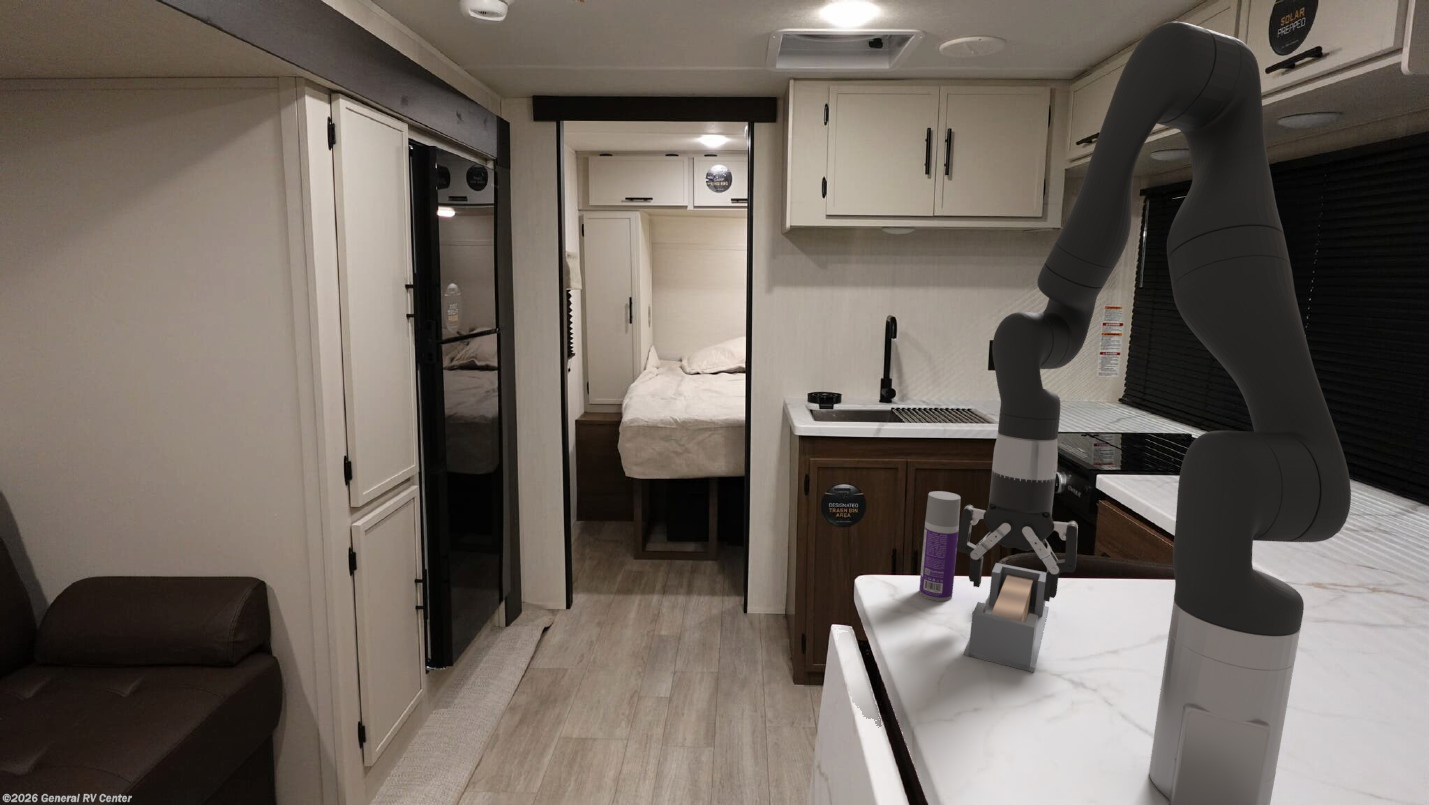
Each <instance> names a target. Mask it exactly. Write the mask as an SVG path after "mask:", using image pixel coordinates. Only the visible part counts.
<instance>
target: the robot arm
mask: <svg viewBox="0 0 1429 805" xmlns="http://www.w3.org/2000/svg"><path fill="white" fill-rule="evenodd" d="M1263 110H1264V109H1263V97H1262V84H1261V74H1260V68H1259V63H1258V60H1257V57H1256V56H1255V53H1254V52H1253V49H1252V48H1251V47H1250V46H1249V45H1248V44H1246V43H1245V42H1243V41H1242V40H1241V39H1239V38H1237V37H1234V36H1231V35H1227V34H1224V33H1221V32H1218V31H1215V30H1211V29H1207V28H1205V27H1202V26H1198V25H1195V24H1191V23H1187V22H1184V21H1169V22H1166V23H1162V24H1161V25H1158V26H1156V27H1155V28H1153V29H1152V30H1151V31H1149V32H1148V33H1147V34H1146V35H1145V36H1144V37H1143V38H1142V39H1141V40H1140V41H1139V43H1138V44H1137V45H1136V47H1135V48H1134V49H1133V51H1132V52H1131V54H1130V56H1129V58H1128V60H1127V61H1126V64H1125V65H1124V68H1123V69H1122V72H1121V74H1120V77H1119V79H1118V81H1117V84H1116V85H1115V89H1114V92H1113V94H1112V97H1111V100H1110V103H1109V106H1108V108H1107V111H1106V114H1105V118H1104V119H1103V123H1102V125H1101V128H1100V131H1099V134H1098V136H1097V139H1096V142H1095V145H1094V148H1093V152H1092V155H1091V157H1090V160H1089V162H1088V164H1087V165H1088V166H1087V169H1086V172H1085V175H1084V178H1083V181H1082V183H1081V186H1080V190H1079V192H1078V195H1077V197H1076V200H1075V202H1074V204H1073V207H1072V209H1071V210H1070V214H1069V216H1068V217H1067V219H1066V222H1065V224H1064V225H1063V228H1062V229H1061V231H1060V233H1059V235H1058V238H1057V239H1056V241H1055V243H1054V244H1053V246H1052V248H1051V251H1050V253H1049V254H1048V256H1047V258H1046V260H1045V262H1044V264H1043V265H1042V268H1041V270H1040V272H1039V273H1038V274H1039V275H1038V276H1037V286H1038V289H1039V291H1040V293H1042V294H1043V295H1044V296H1045V297H1047V298H1048V301H1047V304H1046V306H1045V309H1044V310H1043V312H1034V311H1033V312H1032V311H1031V312H1030V311H1017V312H1012V313H1011V314H1008V315H1007V316H1005V317H1004V318H1003V319H1002V320H1001V321H1000V322H999V325H998V326H997V327H996V330H995V332H994V336H993V339H992V346H991V347H992V360H993V365H994V371H995V377H996V382H997V389H998V394H999V397H1000V408H999V417H998V426H997V427H998V428H997V435H996V441H995V444H994V448H993V457H992V468H991V478H990V488H989V500H988V507H987V509H986V510H985V509H980V508H975V507H974V505H971V504H966V505H965V506H964V508H963V509H962V512H961V516H960V517H961V518H960V522H959V530H958V541H957V552H959V553H964V554H966V555H967V556H968V557H969V570H968V571H969V572H968V578H969V582H972V583H973V584H972V585H973V587H974V588H975V587H976V588H980V586H981V583H982V577H983V576H982V575H983V565H984V564H983V563H984V554H985V553H986V552H988V551H990V550H991V549H992V548H993V547H994V546H995V545H996V544H997V543H998V544H999V545H1001V546H1002V548H1007V549H1014V548H1016V549H1018V550H1021V551H1024V552H1029V551H1031V550H1032V551H1033V550H1034V552H1035V553H1036V556H1037V557H1038V558H1039V559H1040V561H1042V562H1043V564H1044V565H1045V567H1046V581H1045V590H1044V599H1043V601H1045V602H1048V603H1049V602H1050V601H1051V600H1050V599H1051V598H1052V599H1055V597H1056V596H1057V593H1058V583H1059V576H1060V574H1062V573H1074V572H1075V571H1076V569H1077V555H1078V554H1077V553H1078V552H1077V550H1078V533H1079V532H1078V530H1079V529H1078V528H1079V527H1078V526H1079V525H1078V523H1077V521H1075V520H1070V521H1068V522H1066V521H1064V522H1063V521H1055V520H1054V518H1053V505H1054V497H1055V496H1054V495H1055V487H1056V486H1055V484H1056V478H1057V477H1056V476H1057V472H1058V458H1059V456H1058V455H1059V454H1058V436H1059V435H1058V434H1059V428H1060V427H1059V426H1060V419H1061V418H1060V417H1061V399H1060V397H1059V395H1058V394H1057V393H1056V392H1054V391H1052V390H1050V389H1046V388H1044V386H1043V381H1042V376H1041V370H1056V369H1059V368H1062V367H1064V366H1066V365H1068V364H1069V363H1070V362H1072V361H1073V360H1074V359H1075V358H1076V356H1078V354H1079V352H1080V351H1081V350H1082V348H1083V347H1084V344H1085V341H1086V339H1087V336H1088V332H1089V330H1090V326H1091V322H1092V319H1093V316H1094V312H1095V308H1096V303H1097V302H1096V301H1097V298H1098V296H1099V295H1100V293H1101V291H1102V289H1104V286H1105V285H1106V283H1107V281H1108V280H1109V278H1110V276H1111V275H1112V273H1113V271H1114V269H1115V268H1116V265H1117V264H1118V262H1119V261H1120V259H1121V257H1122V255H1123V253H1124V251H1125V248H1126V245H1127V243H1128V241H1129V240H1128V239H1129V237H1130V233H1131V232H1130V231H1131V227H1132V210H1133V208H1132V206H1133V182H1134V176H1135V171H1136V166H1137V163H1138V158H1139V156H1140V154H1141V151H1142V150H1143V147H1144V145H1145V143H1146V141H1147V139H1148V138H1149V136H1150V135H1151V133H1152V131H1153V130H1154V128H1155V127H1156V126H1157V125H1161V126H1165V127H1169V128H1172V129H1176V130H1179V131H1180V132H1181V133H1182V135H1183V136H1184V138H1185V141H1186V145H1187V146H1188V151H1189V155H1190V160H1191V161H1190V162H1191V167H1192V180H1191V181H1192V182H1191V185H1190V188H1189V191H1188V192H1187V195H1186V196H1185V198H1184V200H1183V202H1182V203H1181V205H1180V207H1179V209H1178V211H1177V212H1176V214H1175V217H1174V219H1173V221H1172V223H1171V226H1170V229H1169V232H1168V236H1167V239H1166V240H1167V241H1166V256H1167V262H1168V264H1167V265H1168V270H1169V277H1170V281H1171V288H1172V295H1173V299H1174V304H1175V306H1176V308H1177V310H1178V312H1179V314H1180V316H1181V318H1182V319H1183V321H1184V323H1185V324H1186V326H1187V327H1188V328H1189V329H1190V330H1191V332H1192V333H1193V335H1195V337H1197V339H1198V340H1199V341H1200V342H1201V343H1202V344H1203V346H1204V347H1205V348H1206V349H1207V350H1208V351H1209V353H1211V355H1212V356H1213V357H1214V358H1215V359H1216V360H1217V362H1219V364H1221V366H1222V367H1223V368H1224V369H1225V371H1226V372H1227V373H1228V374H1229V375H1230V377H1231V378H1232V380H1233V381H1234V382H1235V384H1236V385H1237V387H1238V389H1239V391H1240V393H1241V394H1242V397H1243V399H1244V401H1245V404H1246V406H1247V409H1248V413H1249V415H1250V416H1249V417H1250V420H1251V423H1252V427H1253V431H1249V430H1248V431H1247V430H1246V431H1245V430H1244V431H1243V430H1213V431H1212V430H1211V431H1208V432H1205V433H1203V434H1201V435H1199V436H1198V437H1196V438H1195V439H1194V440H1193V441H1192V442H1191V444H1190V446H1188V448H1187V451H1186V452H1185V454H1184V457H1183V460H1182V464H1181V467H1180V472H1179V476H1178V477H1179V478H1178V479H1179V480H1178V485H1177V486H1178V487H1177V498H1176V514H1175V525H1174V537H1173V538H1174V539H1173V545H1172V546H1173V548H1172V565H1173V573H1174V582H1175V585H1174V592H1173V593H1174V594H1173V603H1172V608H1171V609H1172V610H1171V618H1170V625H1169V630H1168V637H1167V642H1166V643H1167V645H1166V650H1165V658H1164V662H1163V663H1164V665H1163V670H1162V671H1163V672H1162V676H1161V677H1162V679H1161V685H1160V692H1159V699H1158V706H1157V712H1156V720H1155V726H1154V727H1155V728H1154V733H1153V742H1152V748H1151V754H1150V763H1149V769H1148V772H1149V777H1150V779H1151V782H1152V783H1153V784H1154V786H1155V788H1156V789H1158V791H1159V792H1161V793H1162V794H1163V795H1164V796H1165V797H1166V798H1167V799H1168V801H1169V805H1271V803H1272V798H1273V797H1272V796H1273V791H1274V790H1273V789H1274V785H1275V780H1276V773H1277V767H1278V762H1279V755H1280V749H1281V743H1282V737H1283V731H1284V726H1285V720H1286V714H1287V709H1288V701H1289V696H1290V690H1291V685H1292V679H1293V678H1292V677H1293V673H1294V668H1295V662H1296V658H1297V652H1298V651H1297V650H1298V646H1299V641H1300V640H1299V639H1300V634H1301V627H1302V622H1303V618H1304V617H1303V615H1304V607H1305V603H1304V600H1303V597H1302V595H1301V593H1299V591H1298V590H1297V589H1295V588H1294V587H1292V586H1291V585H1290V584H1289V583H1287V582H1285V581H1283V580H1281V579H1280V578H1279V579H1278V578H1276V577H1274V576H1272V575H1270V574H1267V573H1264V572H1262V571H1259V570H1257V569H1255V568H1253V544H1254V541H1256V542H1277V543H1278V542H1279V543H1281V542H1284V543H1317V542H1324V541H1327V540H1329V539H1332V538H1333V537H1334V536H1335V535H1337V534H1338V533H1339V532H1340V531H1341V530H1342V528H1343V527H1344V525H1345V524H1346V523H1347V519H1348V516H1349V514H1350V510H1351V504H1352V501H1351V500H1352V490H1351V478H1350V473H1349V467H1348V465H1347V464H1348V463H1347V461H1346V457H1345V454H1344V451H1343V448H1342V444H1341V441H1340V439H1339V436H1338V433H1337V430H1336V427H1335V425H1334V422H1333V419H1332V416H1331V413H1330V410H1329V408H1328V405H1327V402H1326V399H1325V397H1324V393H1323V391H1322V388H1321V385H1320V381H1319V379H1318V377H1317V373H1316V370H1315V367H1314V364H1313V360H1312V357H1311V353H1310V348H1309V345H1308V341H1307V338H1306V332H1305V330H1304V325H1303V321H1302V316H1301V312H1300V308H1299V305H1298V300H1297V296H1296V291H1295V290H1296V289H1295V284H1294V277H1293V270H1292V266H1291V260H1290V256H1289V251H1288V247H1287V241H1286V237H1285V234H1284V233H1285V232H1284V229H1283V225H1282V223H1281V219H1280V215H1279V210H1278V207H1277V206H1278V205H1277V202H1276V197H1275V190H1274V185H1273V180H1272V175H1271V169H1270V163H1269V160H1268V154H1267V146H1266V140H1265V139H1266V138H1265V129H1264V128H1265V126H1264V125H1265V124H1264V112H1263ZM979 520H983V521H984V523H985V525H986V527H987V528H988V530H989V532H988V533H987V534H986V535H985V536H984V537H983V538H982V539H981V540H980V541H979V542H978V543H977V544H976V545H975V544H974V543H972V542H970V541H971V540H970V539H971V533H972V527H973V526H976V525H977V524H978V522H979ZM1054 531H1055V532H1057V533H1058V536H1059V539H1061V540H1062V541H1065V555H1064V557H1065V558H1063V559H1058V558H1057V556H1056V554H1055V553H1054V551H1053V550H1052V547H1051V546H1050V544H1049V542H1048V541H1047V538H1048V537H1049V536H1050V535H1051V534H1052V533H1053V532H1054Z"/></svg>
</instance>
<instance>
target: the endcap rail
mask: <svg viewBox="0 0 1429 805" xmlns="http://www.w3.org/2000/svg"><path fill="white" fill-rule="evenodd" d="M1046 573H1047V571H1046V572H1045V571H1039V570H1036V569H1035V570H1034V569H1029V568H1025V567H1019V566H1014V565H1009V564H1003V563H999V562H998V563H997V562H995V564H994V567H993V569H992V571H991V575H990V576H991V580H990V587H989V588H990V589H989V594H988V595H987V599H986V601H985V603H984V602H980V601H977V603H976V604H975V607H974V609H973V611H972V614H971V623H970V624H971V625H970V635H969V639H968V641H967V643H966V646H965V648H964V650H963V655H965V656H967V657H972V658H974V659H980V660H983V661H987V662H991V663H995V664H999V665H1002V666H1006V667H1010V668H1016V669H1019V670H1023V671H1026V672H1031V673H1035V670H1036V667H1037V662H1038V658H1039V653H1040V650H1041V645H1042V641H1041V640H1042V639H1043V637H1044V632H1043V631H1045V628H1046V627H1045V626H1046V623H1047V619H1048V614H1049V610H1050V608H1049V606H1047V605H1046V601H1043V599H1044V590H1045V581H1046ZM1007 575H1012V576H1017V577H1022V578H1027V579H1032V580H1033V586H1032V595H1031V604H1030V609H1029V613H1028V616H1027V619H1026V622H1023V621H1018V620H1014V619H1009V618H1005V617H1000V616H996V615H991V613H992V611H993V608H994V606H995V604H996V601H997V599H998V596H999V594H1000V591H1001V589H1002V587H1003V584H1004V582H1005V579H1006V577H1007ZM1046 618H1047V619H1046ZM1045 622H1046V623H1045Z"/></svg>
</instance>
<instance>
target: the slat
mask: <svg viewBox="0 0 1429 805" xmlns="http://www.w3.org/2000/svg"><path fill="white" fill-rule="evenodd" d="M1032 586H1033V580H1032V579H1027V578H1022V577H1017V576H1012V575H1007V577H1006V579H1005V582H1004V584H1003V587H1002V589H1001V591H1000V594H999V596H998V599H997V601H996V604H995V606H994V608H993V611H992V613H991V615H996V616H1000V617H1005V618H1009V619H1014V620H1018V621H1023V622H1026V619H1027V616H1028V613H1029V609H1030V604H1031V595H1032Z"/></svg>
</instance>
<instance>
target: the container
mask: <svg viewBox="0 0 1429 805" xmlns="http://www.w3.org/2000/svg"><path fill="white" fill-rule="evenodd" d="M927 494H928V495H927V503H926V513H925V521H924V531H923V543H922V555H921V565H920V566H921V567H920V578H919V590H918V592H919V595H920V596H921V597H923V598H925V599H927V600H931V601H935V602H947V601H949V600H951V599H953V594H954V592H953V591H954V583H955V582H954V581H955V572H956V570H955V569H956V561H957V552H958V550H957V542H958V535H959V529H960V511H961V500H962V499H961V496H960V495H959V494H957V493H953V492H949V491H942V490H941V491H939V490H937V491H936V490H935V491H929V493H927Z"/></svg>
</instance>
